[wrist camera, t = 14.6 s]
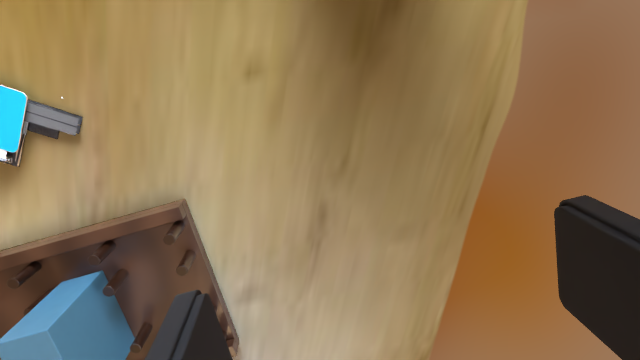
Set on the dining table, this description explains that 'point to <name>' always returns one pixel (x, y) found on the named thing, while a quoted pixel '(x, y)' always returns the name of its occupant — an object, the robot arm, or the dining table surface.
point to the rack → (118, 270)
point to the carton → (71, 325)
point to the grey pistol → (29, 123)
